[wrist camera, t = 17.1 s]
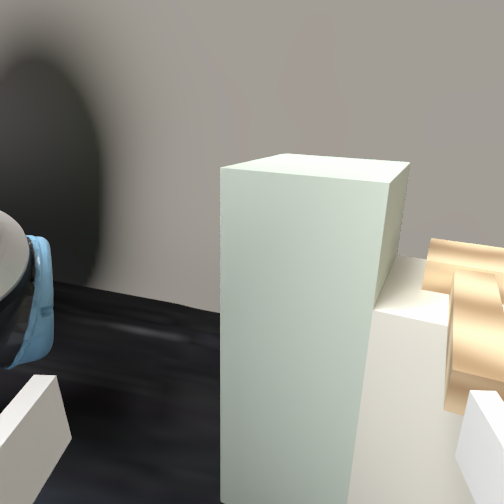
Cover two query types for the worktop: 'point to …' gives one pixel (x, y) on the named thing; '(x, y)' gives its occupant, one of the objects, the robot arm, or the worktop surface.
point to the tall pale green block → (329, 341)
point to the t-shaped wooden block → (470, 316)
